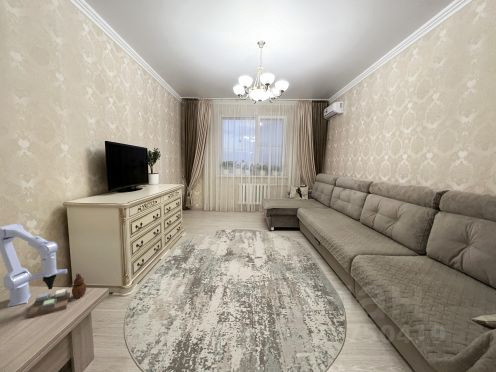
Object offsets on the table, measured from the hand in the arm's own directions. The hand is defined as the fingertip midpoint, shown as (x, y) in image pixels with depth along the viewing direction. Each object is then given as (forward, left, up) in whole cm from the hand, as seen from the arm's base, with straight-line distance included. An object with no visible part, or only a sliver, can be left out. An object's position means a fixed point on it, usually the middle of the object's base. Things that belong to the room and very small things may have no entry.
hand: (50, 288), depth 122 cm
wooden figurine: (-2, +12, -10) cm, 16 cm away
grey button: (-2, -4, -6) cm, 7 cm away
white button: (-2, +4, -6) cm, 7 cm away
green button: (+5, 0, -7) cm, 9 cm away
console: (+2, 0, -9) cm, 10 cm away
